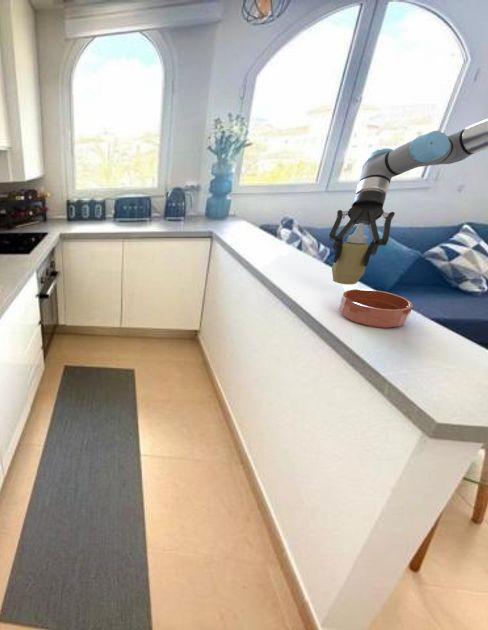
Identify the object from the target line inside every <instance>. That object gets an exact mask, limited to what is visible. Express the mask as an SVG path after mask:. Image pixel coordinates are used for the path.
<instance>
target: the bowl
mask: <svg viewBox="0 0 488 630" xmlns="http://www.w3.org/2000/svg"><path fill="white" fill-rule="evenodd" d="M413 307H414V305H413V302H412V301H410V300H409V299H408V298H405V297H403V296H401V295H398V294H395V293H391V292H388V291H383V290H375V289H367V288H366V289H365V288H358V289H357V288H356V289H349V290H346V291H344V292H343V293H342V296H341V300H340V303H339V307H338V312H339V314H341V315H342V316H343V317H344V318H345V319H347V320H349V321H351V322H354V323H356V324H359V325H363V326H367V327H373V328H383V329H384V328H385V329H386V328H387V329H389V328H395V327H401V326H404V325H405V324H406V323H407V321H408V320H409V318H410V314H411V312H412V310H413Z"/></svg>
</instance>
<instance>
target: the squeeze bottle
mask: <svg viewBox="0 0 488 630" xmlns="http://www.w3.org/2000/svg"><path fill="white" fill-rule="evenodd" d="M368 239H369V236H367V235H365V225H364V223H359V224H357V227H356V229H355V230H354V231H353V233H352V234H348V235H347V238H346V241H344V242H342V245H341V249H340V252H339V256H338V259H337V262H336V263H333V264H332V267H331V274H332V280H333V282H335V283H337V284H341V285H347V286H348V285H350V286H351V285H356V284H357V283H358V282H359V281H360V279H361V278H362V277H363V276H364V274H365V272H366V267H367V266H364V262H365V259H366V256H367V253H368V249H369V245H370V244H368V243H367V242H368Z"/></svg>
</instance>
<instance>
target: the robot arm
mask: <svg viewBox="0 0 488 630" xmlns="http://www.w3.org/2000/svg"><path fill="white" fill-rule="evenodd" d="M485 150H488V118H486V119H484V120H481V121H479V122H477V123H474V124H471V125H469V126H467V127H465V128H463V129H461V130H458V131H455V132H453V133H451V134H448V135H447V134H446V133H445V132H442V131H441V130H432V131H430V132H428V133H425V134H422V135H419V136H418V137H416V138H415V139H411V140H410V141H409V142H406V143H404V144H402V145H400V146H398V147H396V148H394V149H393V148H390V147H389V148H387V147H384V148H382V149H376V150H373V151H372V152H371V153H369V154H368V156H367V157H366V158H365V162H364V163H363V165H362V169H361V172H360V176H359V181H358V183H357V186H356V188H355V193H354V197H353V199H352V202H351V206H350V208H349V209H347V210H342V209H338V210H337V212H336V219H335V221H334V223H333V225H332V228H331V230H330V232H329V235H328V242H333V245H332V249H331V251H332V252H334V253H335V255H334V257H333V264H334V263H336V262H337V259H338V256H339V252H340V249H341V245H342V243H344V242H343V241H344V238H346V236H347V234H348V233H349V232H350V231H351V229H352V228H353V227H355V226H356V225H359V223H364V226H365V225H366V226H367V228H368V232H369V235H370V239H371V241H370V243H369V244H368V245H369V249H368V253H367V256H366V259H365V262H364V266H366V267H367V266H368V265H369V263H370V258H371V256H375V255H376V254H377V252H378V248H379V246H387V244H388V243H389V239H390V233H391V232H390V231H391V225H392V221H393V219H394V217H395V214H396V213H395V212H394V211H390V212H385V210H384V205H385V201H386V197H387V194H388V190H389V187H390V184H391V181H392V178H394V177H396V176H400V175H401V174H404V173H407V172H409V171H411V170H414V169H416V168H420V167H429V166H439V165H451V164H455V163H458V162H461V161H464V160H466V159H468V158H469V157H470V156H472V155H474V154H477V153H479V152H483V151H485ZM346 217H348V218H349V221H348V222H347V223H346V224H345V226H344V227H343V228H342V229H341V230H340V232H339V233H338V234H337V232H338V230H339V227H340V226H341V224H342V221H343V220H344V219H345V218H346ZM380 218H382V221H383V222H384V223H383V226H382V227H383V228H382V235H381V238H380V235H379V231H378V227H377V220H379V219H380ZM336 234H337V235H336Z"/></svg>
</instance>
